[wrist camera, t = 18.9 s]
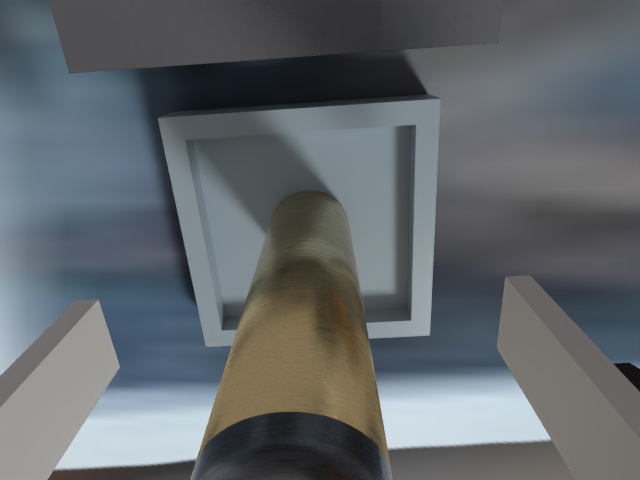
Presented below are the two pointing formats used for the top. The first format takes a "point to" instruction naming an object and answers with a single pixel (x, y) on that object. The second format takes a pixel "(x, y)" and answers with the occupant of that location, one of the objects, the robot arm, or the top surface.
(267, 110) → the tray
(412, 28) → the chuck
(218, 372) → the top surface
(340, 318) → the cylindrical container
